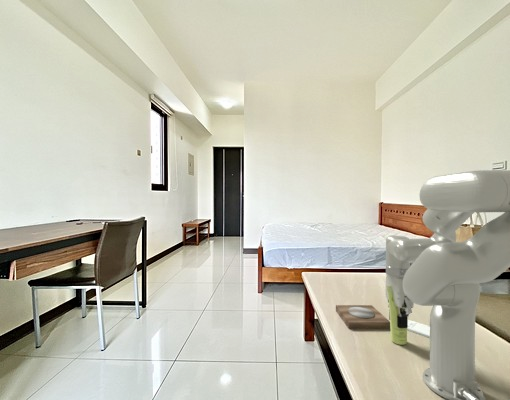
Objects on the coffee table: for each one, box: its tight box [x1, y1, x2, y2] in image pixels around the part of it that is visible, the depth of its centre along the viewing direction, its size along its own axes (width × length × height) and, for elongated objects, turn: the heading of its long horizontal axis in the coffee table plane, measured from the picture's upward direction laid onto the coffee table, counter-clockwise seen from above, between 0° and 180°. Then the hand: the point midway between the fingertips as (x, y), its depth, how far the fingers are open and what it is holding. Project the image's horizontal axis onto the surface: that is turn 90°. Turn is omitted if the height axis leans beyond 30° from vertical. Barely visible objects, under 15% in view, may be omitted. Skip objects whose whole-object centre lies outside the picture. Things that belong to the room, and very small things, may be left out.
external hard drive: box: [407, 319, 430, 339], centre depth 98 cm, size 2×8×12 cm
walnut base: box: [335, 304, 391, 330], centre depth 108 cm, size 16×16×3 cm
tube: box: [387, 286, 408, 346], centre depth 90 cm, size 6×5×20 cm
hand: (398, 323), depth 91 cm, fingers closed on tube, 4 cm apart
